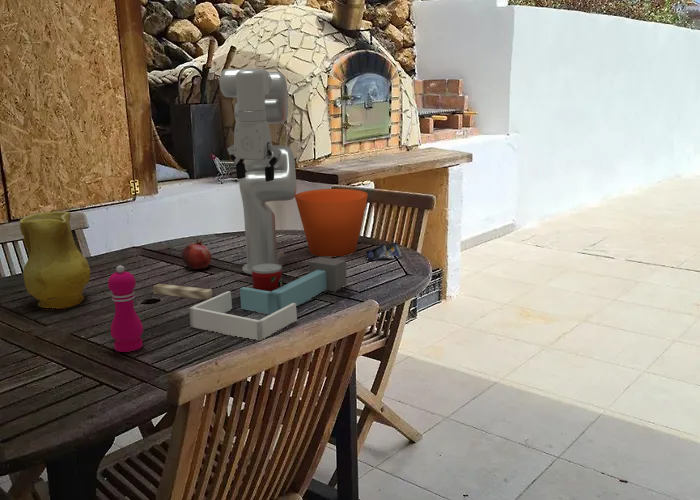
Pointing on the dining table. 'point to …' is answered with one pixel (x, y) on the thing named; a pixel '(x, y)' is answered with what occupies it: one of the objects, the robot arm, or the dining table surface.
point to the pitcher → (53, 260)
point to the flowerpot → (332, 219)
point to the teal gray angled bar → (297, 287)
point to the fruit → (196, 256)
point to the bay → (238, 319)
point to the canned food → (267, 277)
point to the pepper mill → (124, 312)
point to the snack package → (383, 252)
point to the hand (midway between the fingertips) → (255, 179)
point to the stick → (182, 291)
